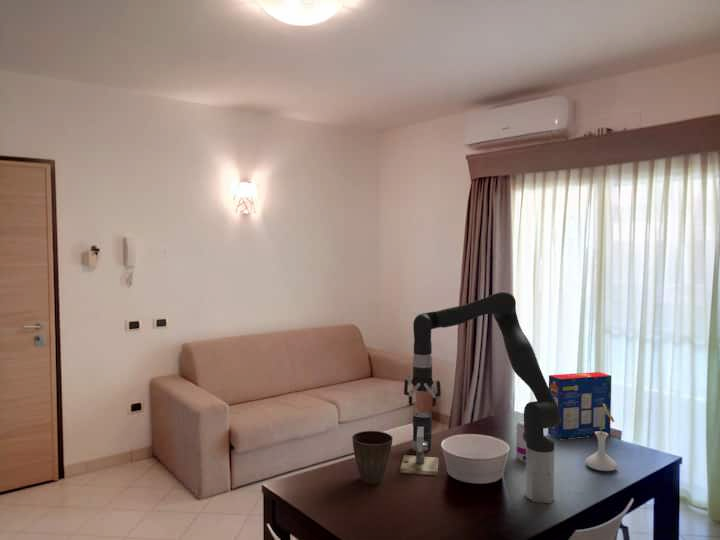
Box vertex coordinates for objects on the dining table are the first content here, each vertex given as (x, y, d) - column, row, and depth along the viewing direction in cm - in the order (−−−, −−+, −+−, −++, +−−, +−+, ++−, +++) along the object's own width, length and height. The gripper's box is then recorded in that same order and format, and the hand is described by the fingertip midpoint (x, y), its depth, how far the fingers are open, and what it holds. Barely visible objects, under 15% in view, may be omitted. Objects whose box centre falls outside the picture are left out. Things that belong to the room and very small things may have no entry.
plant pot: (364, 468, 205) (365, 428, 204) (399, 477, 197) (399, 435, 197) (344, 482, 192) (344, 439, 192) (379, 492, 184) (380, 447, 184)
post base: (438, 461, 213) (438, 444, 213) (437, 475, 199) (437, 457, 199) (404, 458, 215) (404, 442, 215) (400, 472, 202) (400, 454, 201)
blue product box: (598, 429, 254) (599, 372, 253) (610, 435, 246) (611, 375, 245) (548, 434, 246) (548, 375, 246) (558, 440, 239) (559, 379, 238)
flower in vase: (613, 476, 199) (614, 411, 199) (581, 469, 206) (583, 405, 205) (620, 465, 210) (622, 403, 209) (590, 459, 216) (591, 398, 216)
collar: (413, 443, 213) (413, 426, 213) (428, 444, 213) (428, 427, 212) (411, 454, 202) (411, 436, 201) (427, 455, 201) (427, 437, 201)
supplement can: (540, 463, 212) (540, 426, 211) (519, 462, 212) (520, 425, 212) (533, 455, 220) (534, 419, 220) (514, 455, 220) (514, 419, 220)
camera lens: (431, 446, 230) (431, 412, 229) (431, 453, 222) (432, 418, 221) (412, 445, 230) (412, 411, 230) (412, 452, 222) (412, 417, 222)
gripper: (441, 363, 209) (440, 404, 209) (405, 362, 211) (404, 402, 211) (440, 367, 201) (440, 409, 202) (403, 366, 204) (403, 407, 204)
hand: (422, 406), depth 207 cm, fingers open, 8 cm apart
